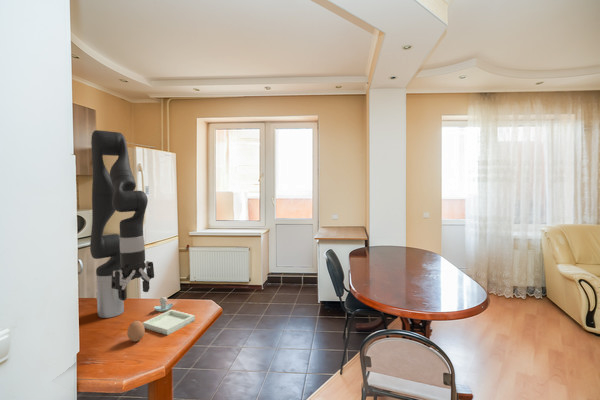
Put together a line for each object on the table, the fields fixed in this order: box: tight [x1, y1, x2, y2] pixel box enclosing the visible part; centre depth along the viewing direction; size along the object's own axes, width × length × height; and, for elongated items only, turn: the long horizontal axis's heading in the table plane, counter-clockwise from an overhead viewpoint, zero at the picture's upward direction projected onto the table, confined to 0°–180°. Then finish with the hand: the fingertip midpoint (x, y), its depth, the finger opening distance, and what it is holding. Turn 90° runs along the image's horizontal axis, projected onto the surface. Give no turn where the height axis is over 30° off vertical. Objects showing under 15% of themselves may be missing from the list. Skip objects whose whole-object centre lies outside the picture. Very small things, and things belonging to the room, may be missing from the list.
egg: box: [126, 320, 146, 342], centre depth 109 cm, size 5×5×7 cm
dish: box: [142, 309, 196, 336], centre depth 122 cm, size 13×13×2 cm
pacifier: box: [153, 296, 174, 313], centre depth 135 cm, size 7×6×6 cm
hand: (134, 295), depth 109 cm, fingers open, 8 cm apart
